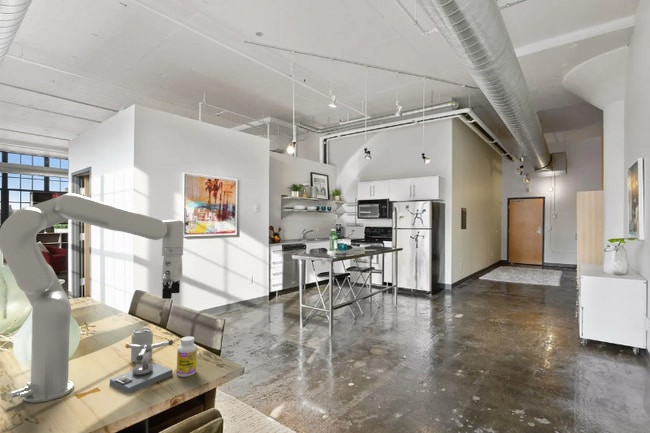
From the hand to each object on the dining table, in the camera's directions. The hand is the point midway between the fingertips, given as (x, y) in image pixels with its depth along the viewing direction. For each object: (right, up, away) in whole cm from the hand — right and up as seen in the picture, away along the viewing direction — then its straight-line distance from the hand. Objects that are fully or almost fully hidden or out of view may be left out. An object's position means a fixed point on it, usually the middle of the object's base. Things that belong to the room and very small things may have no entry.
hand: (171, 295), depth 135 cm
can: (-13, -27, +3) cm, 30 cm away
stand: (-4, -27, -13) cm, 30 cm away
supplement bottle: (+9, -27, -7) cm, 29 cm away
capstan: (-5, -24, -12) cm, 27 cm away
